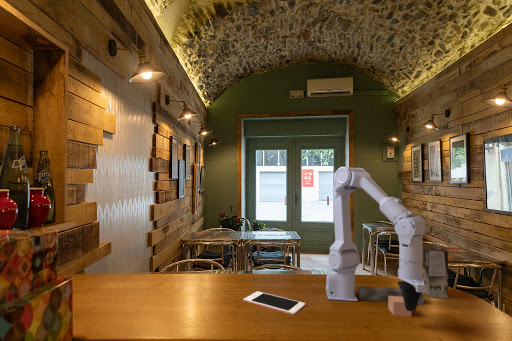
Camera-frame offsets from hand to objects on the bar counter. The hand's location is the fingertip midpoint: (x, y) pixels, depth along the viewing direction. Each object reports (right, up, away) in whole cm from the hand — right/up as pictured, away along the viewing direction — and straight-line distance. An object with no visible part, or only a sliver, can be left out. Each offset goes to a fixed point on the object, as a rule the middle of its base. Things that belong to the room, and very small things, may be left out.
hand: (410, 310), depth 83 cm
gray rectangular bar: (+2, -5, +18) cm, 19 cm away
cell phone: (-37, -4, +13) cm, 39 cm away
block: (+1, -5, +8) cm, 10 cm away
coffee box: (+21, -6, +25) cm, 34 cm away
